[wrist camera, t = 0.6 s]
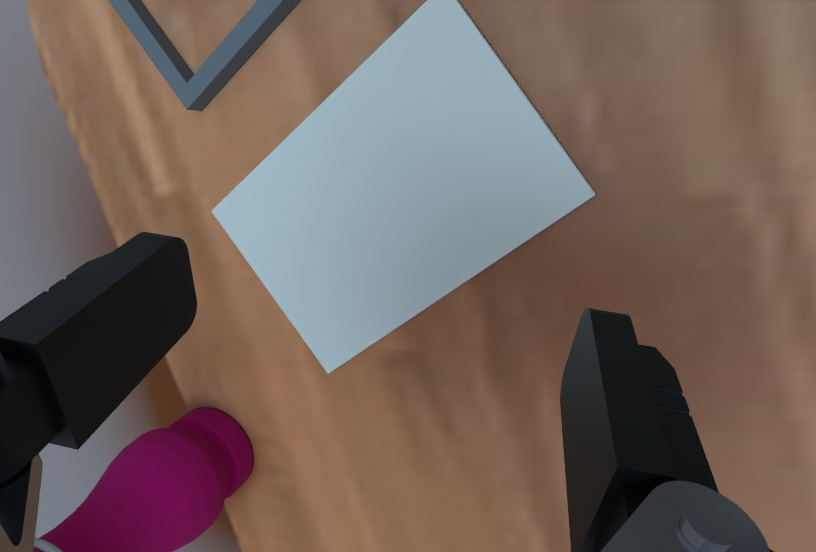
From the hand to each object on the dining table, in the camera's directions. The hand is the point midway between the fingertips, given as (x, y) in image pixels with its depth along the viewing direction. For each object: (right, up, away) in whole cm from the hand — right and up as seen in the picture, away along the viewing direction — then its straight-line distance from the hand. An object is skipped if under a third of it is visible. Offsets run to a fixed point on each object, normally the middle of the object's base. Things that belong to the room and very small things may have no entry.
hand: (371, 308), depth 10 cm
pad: (-1, +5, +18) cm, 18 cm away
